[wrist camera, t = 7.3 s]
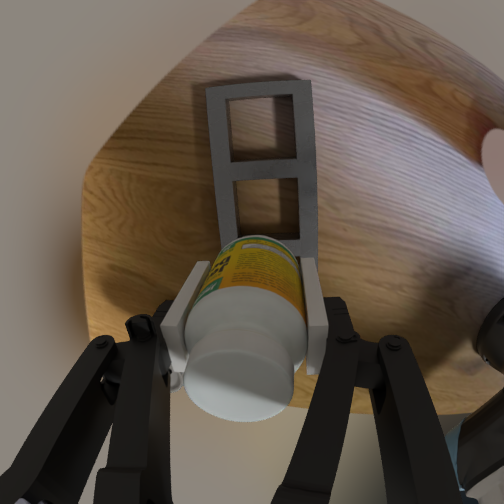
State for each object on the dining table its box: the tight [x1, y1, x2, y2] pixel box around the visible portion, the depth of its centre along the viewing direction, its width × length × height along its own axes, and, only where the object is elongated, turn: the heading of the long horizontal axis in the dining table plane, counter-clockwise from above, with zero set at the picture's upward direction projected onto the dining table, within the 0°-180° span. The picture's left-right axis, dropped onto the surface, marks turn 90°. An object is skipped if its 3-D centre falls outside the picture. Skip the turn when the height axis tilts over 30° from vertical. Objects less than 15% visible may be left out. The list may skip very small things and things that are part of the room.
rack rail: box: [205, 80, 318, 273], centre depth 34 cm, size 11×28×2 cm, turn 4°
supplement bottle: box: [183, 235, 308, 422], centre depth 14 cm, size 5×5×10 cm
